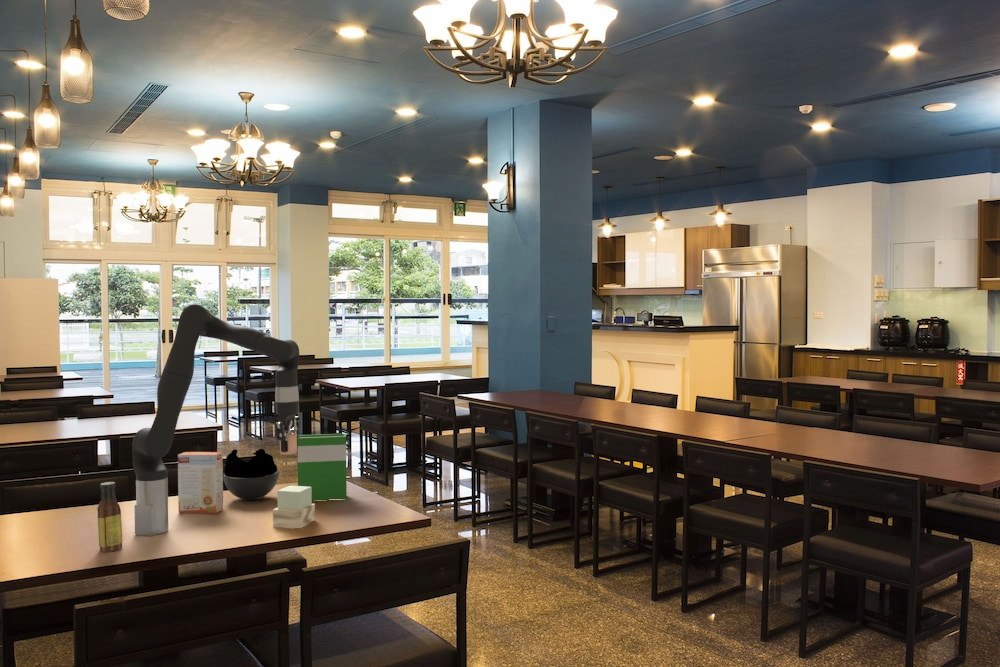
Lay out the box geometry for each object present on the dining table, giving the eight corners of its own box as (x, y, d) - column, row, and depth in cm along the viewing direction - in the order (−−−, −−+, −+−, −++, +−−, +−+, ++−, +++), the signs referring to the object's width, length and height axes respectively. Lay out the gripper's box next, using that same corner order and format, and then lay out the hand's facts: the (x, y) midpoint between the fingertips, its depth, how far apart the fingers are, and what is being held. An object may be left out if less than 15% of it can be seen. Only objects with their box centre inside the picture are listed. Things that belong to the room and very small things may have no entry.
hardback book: (298, 502, 282) (297, 438, 281) (298, 498, 289) (298, 435, 288) (346, 500, 285) (346, 436, 285) (346, 495, 293) (345, 433, 292)
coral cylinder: (292, 454, 251) (292, 436, 250) (277, 454, 252) (276, 436, 251) (300, 451, 256) (299, 433, 256) (284, 451, 257) (284, 433, 257)
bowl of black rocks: (290, 497, 290) (290, 448, 289) (246, 508, 273) (246, 456, 272) (256, 490, 301) (255, 443, 300) (212, 501, 284) (211, 451, 283)
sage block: (299, 510, 248) (299, 492, 248) (277, 508, 250) (277, 490, 249) (311, 504, 255) (311, 486, 255) (290, 503, 257) (290, 485, 257)
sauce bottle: (126, 546, 228) (125, 480, 228) (116, 552, 222) (115, 485, 221) (104, 546, 228) (103, 480, 228) (93, 553, 222) (92, 485, 221)
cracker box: (224, 509, 271) (223, 451, 271) (216, 514, 265) (215, 454, 265) (186, 508, 273) (185, 450, 272) (177, 513, 267) (177, 453, 266)
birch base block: (301, 529, 247) (301, 511, 247) (273, 527, 249) (272, 509, 249) (315, 521, 257) (314, 503, 256) (287, 519, 259) (287, 502, 259)
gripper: (287, 402, 245) (289, 454, 246) (306, 397, 260) (308, 446, 260) (266, 402, 247) (268, 454, 247) (286, 397, 261) (288, 445, 262)
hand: (288, 449), depth 254 cm, fingers closed on coral cylinder, 5 cm apart
